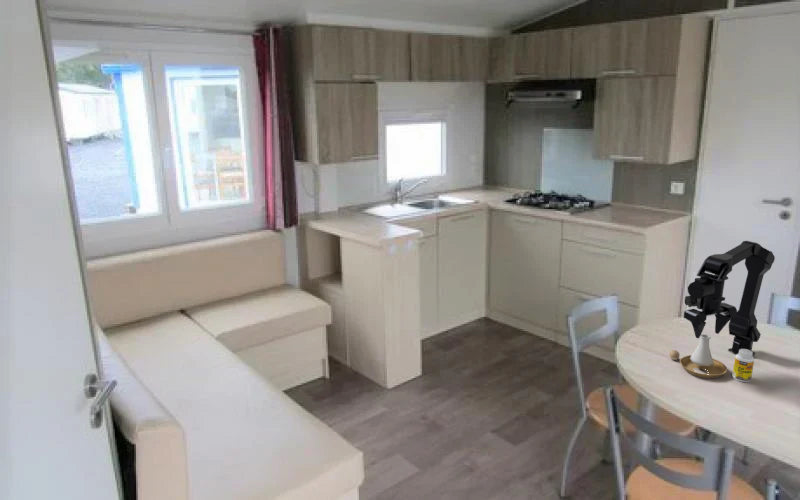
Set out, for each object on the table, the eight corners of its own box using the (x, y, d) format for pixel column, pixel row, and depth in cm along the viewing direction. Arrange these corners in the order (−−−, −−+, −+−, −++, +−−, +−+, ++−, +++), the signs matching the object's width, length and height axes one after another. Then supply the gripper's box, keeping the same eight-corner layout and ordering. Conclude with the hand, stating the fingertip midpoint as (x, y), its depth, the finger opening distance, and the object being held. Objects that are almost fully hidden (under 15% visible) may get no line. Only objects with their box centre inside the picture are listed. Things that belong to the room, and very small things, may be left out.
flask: (717, 366, 202) (721, 339, 199) (698, 367, 201) (702, 341, 198) (704, 356, 209) (708, 330, 206) (685, 358, 208) (689, 332, 205)
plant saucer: (710, 386, 194) (711, 379, 194) (670, 368, 206) (670, 361, 206) (735, 374, 202) (736, 367, 201) (694, 358, 214) (695, 351, 213)
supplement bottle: (734, 381, 196) (738, 353, 193) (730, 373, 201) (734, 346, 198) (752, 383, 194) (757, 355, 192) (748, 376, 200) (753, 348, 197)
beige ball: (673, 356, 214) (674, 347, 213) (681, 360, 211) (682, 351, 210) (666, 358, 213) (667, 349, 212) (673, 362, 210) (675, 353, 209)
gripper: (712, 282, 208) (707, 322, 213) (673, 289, 202) (668, 331, 206) (741, 292, 198) (734, 334, 203) (700, 300, 192) (694, 343, 196)
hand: (707, 335), depth 202 cm, fingers open, 9 cm apart
